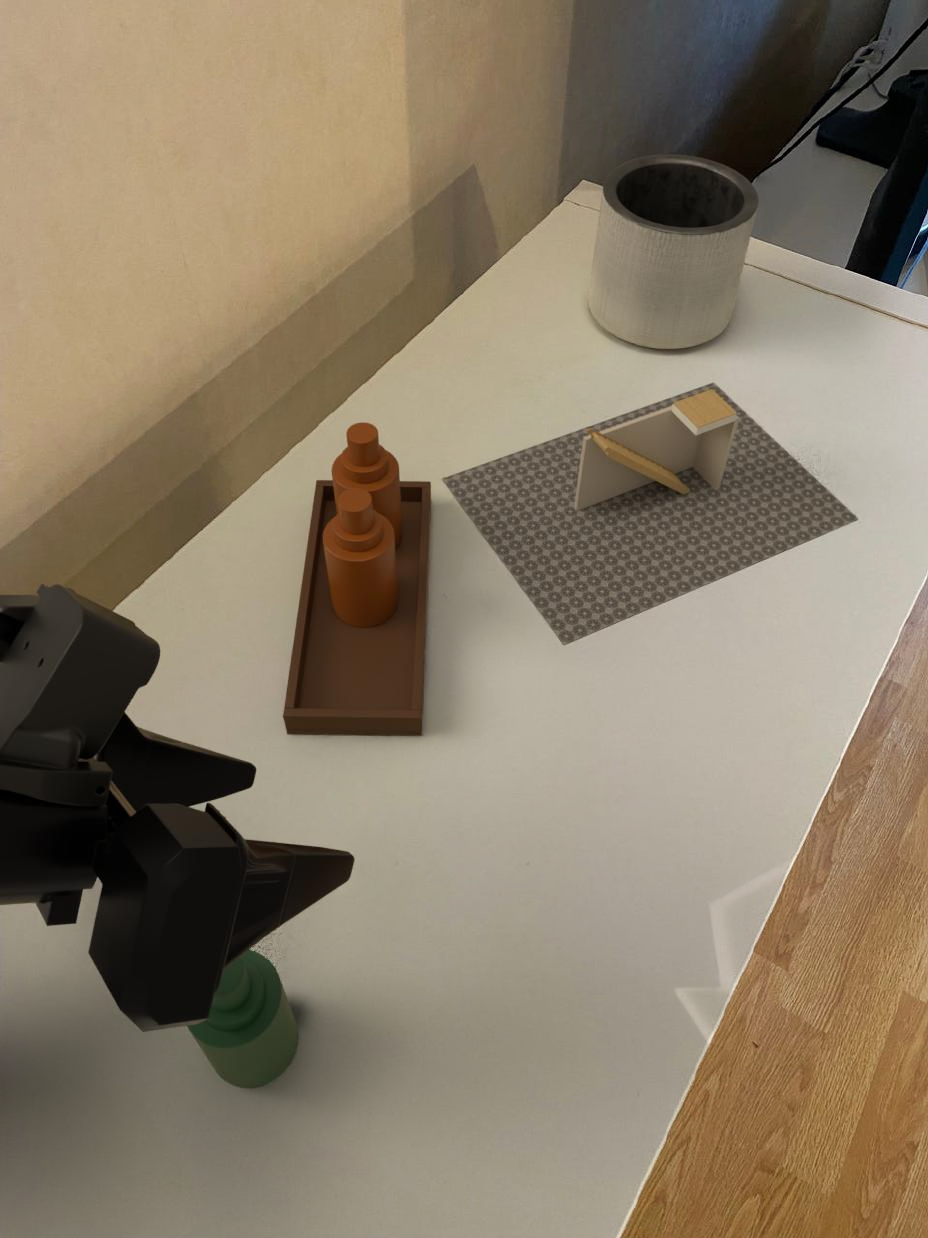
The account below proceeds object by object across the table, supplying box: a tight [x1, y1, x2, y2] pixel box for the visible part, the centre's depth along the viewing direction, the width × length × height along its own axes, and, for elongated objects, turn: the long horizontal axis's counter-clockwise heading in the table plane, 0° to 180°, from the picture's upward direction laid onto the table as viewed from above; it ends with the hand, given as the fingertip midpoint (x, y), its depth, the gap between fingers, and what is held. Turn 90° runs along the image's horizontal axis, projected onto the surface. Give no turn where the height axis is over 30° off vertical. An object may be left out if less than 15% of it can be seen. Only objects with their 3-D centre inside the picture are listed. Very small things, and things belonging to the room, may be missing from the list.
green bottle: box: [186, 949, 299, 1089], centre depth 47 cm, size 4×4×10 cm
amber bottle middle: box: [323, 488, 398, 627], centre depth 64 cm, size 4×4×10 cm
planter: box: [587, 154, 759, 350], centre depth 85 cm, size 13×13×11 cm
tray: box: [282, 479, 432, 737], centre depth 67 cm, size 20×8×2 cm, turn 0°
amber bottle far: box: [331, 422, 403, 550], centre depth 68 cm, size 4×4×10 cm
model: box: [573, 388, 740, 511], centre depth 72 cm, size 3×11×8 cm, turn 118°
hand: (298, 817), depth 43 cm, fingers open, 9 cm apart
